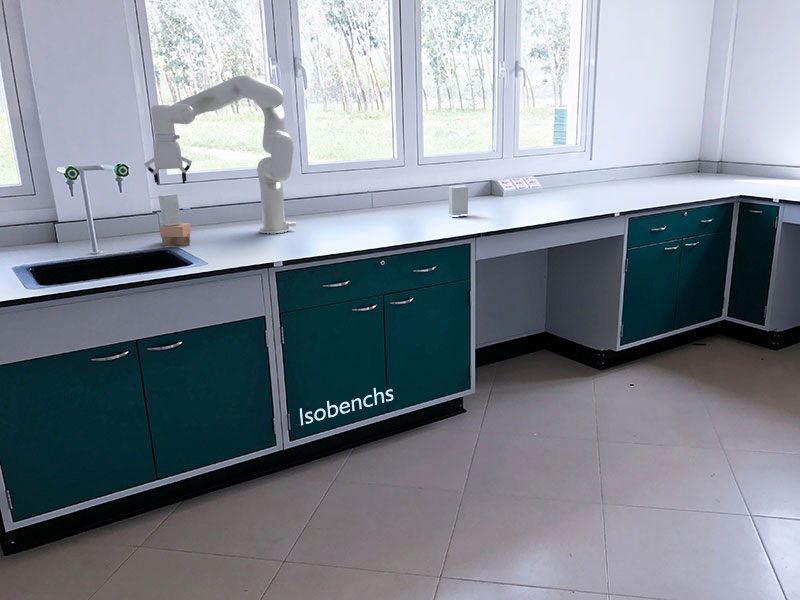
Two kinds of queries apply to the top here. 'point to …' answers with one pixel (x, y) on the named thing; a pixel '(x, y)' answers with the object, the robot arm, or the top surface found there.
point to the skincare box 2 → (458, 200)
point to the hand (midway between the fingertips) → (171, 183)
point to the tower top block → (175, 230)
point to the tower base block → (176, 241)
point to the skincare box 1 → (170, 209)
